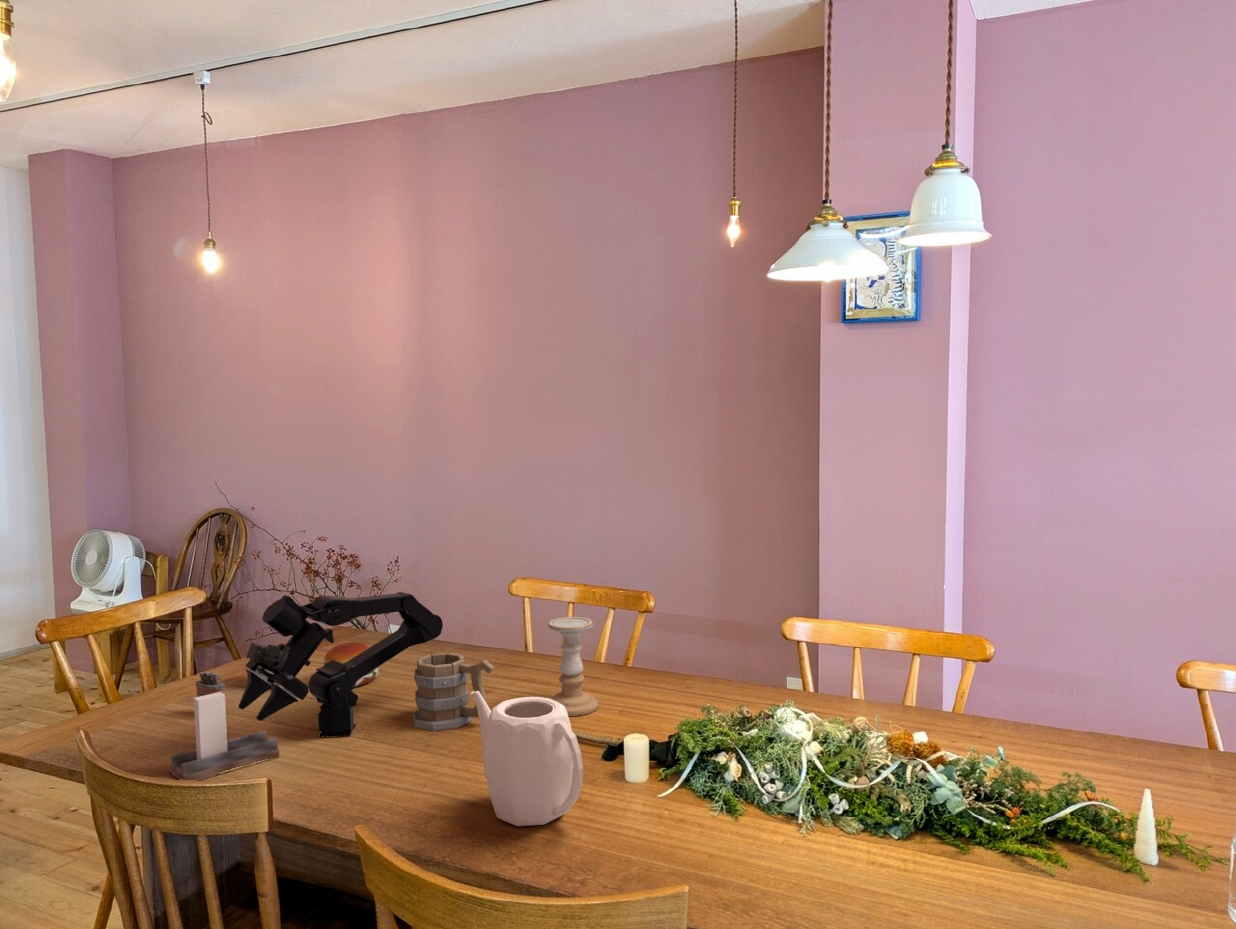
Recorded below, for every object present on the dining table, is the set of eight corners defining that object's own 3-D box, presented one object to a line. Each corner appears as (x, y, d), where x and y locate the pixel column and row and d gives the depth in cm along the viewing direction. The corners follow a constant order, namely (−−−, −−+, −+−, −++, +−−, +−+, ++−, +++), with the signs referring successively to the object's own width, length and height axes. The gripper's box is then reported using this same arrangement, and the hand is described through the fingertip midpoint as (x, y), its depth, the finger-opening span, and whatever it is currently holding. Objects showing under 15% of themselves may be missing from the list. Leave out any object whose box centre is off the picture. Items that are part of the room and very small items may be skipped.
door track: (263, 746, 185) (262, 730, 185) (279, 757, 179) (278, 740, 179) (171, 772, 173) (170, 754, 172) (185, 784, 167) (184, 766, 167)
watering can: (505, 775, 169) (503, 678, 168) (612, 816, 152) (611, 708, 151) (441, 805, 157) (438, 700, 156) (549, 852, 140) (546, 736, 139)
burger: (320, 678, 230) (319, 640, 229) (374, 671, 236) (372, 634, 235) (327, 694, 218) (325, 654, 217) (383, 685, 224) (382, 646, 223)
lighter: (193, 714, 205) (191, 672, 204) (206, 709, 208) (203, 668, 207) (216, 719, 201) (214, 676, 200) (229, 715, 204) (227, 672, 203)
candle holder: (575, 720, 197) (573, 631, 196) (534, 709, 205) (532, 623, 203) (609, 705, 207) (608, 620, 206) (569, 695, 214) (567, 613, 213)
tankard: (401, 725, 196) (399, 658, 195) (438, 707, 207) (436, 644, 206) (474, 740, 187) (472, 670, 186) (509, 720, 198) (507, 654, 197)
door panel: (223, 755, 177) (220, 691, 176) (227, 758, 175) (224, 694, 174) (197, 763, 173) (193, 697, 172) (201, 766, 171) (198, 700, 170)
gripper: (252, 619, 188) (201, 683, 181) (290, 635, 174) (236, 704, 168) (290, 648, 194) (242, 710, 187) (330, 665, 180) (279, 733, 174)
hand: (248, 714), depth 179 cm, fingers open, 9 cm apart
